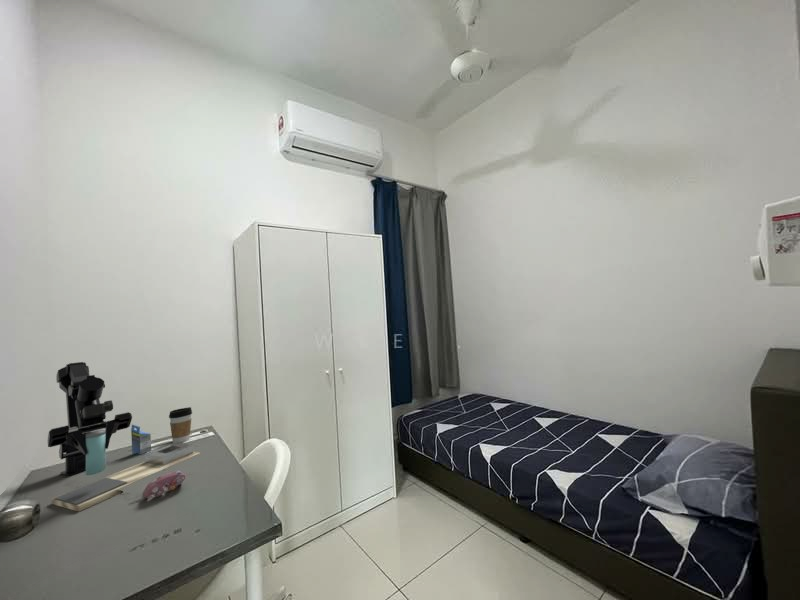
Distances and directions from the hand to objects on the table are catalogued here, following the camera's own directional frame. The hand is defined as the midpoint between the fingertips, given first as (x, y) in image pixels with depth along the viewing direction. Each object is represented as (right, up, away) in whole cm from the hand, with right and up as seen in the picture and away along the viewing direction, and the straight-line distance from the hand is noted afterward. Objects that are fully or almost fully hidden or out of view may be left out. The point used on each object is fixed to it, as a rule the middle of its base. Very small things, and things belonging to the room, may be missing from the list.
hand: (96, 450), depth 94 cm
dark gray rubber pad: (-1, -12, -1) cm, 12 cm away
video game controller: (+23, -12, -2) cm, 26 cm away
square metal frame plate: (+7, -13, +21) cm, 26 cm away
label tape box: (-12, -17, +30) cm, 37 cm away
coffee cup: (-2, -17, +39) cm, 43 cm away
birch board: (+4, -14, +10) cm, 17 cm away
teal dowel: (-1, -7, 0) cm, 7 cm away
